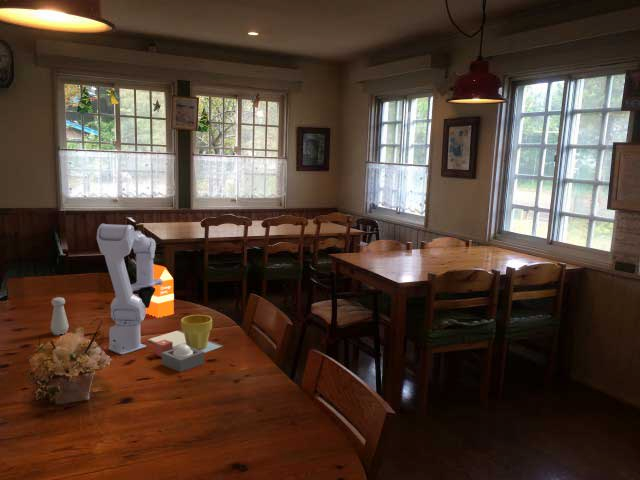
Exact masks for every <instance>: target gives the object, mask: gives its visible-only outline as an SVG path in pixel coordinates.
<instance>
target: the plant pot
mask: <svg viewBox="0 0 640 480" xmlns="http://www.w3.org/2000/svg"><path fill="white" fill-rule="evenodd" d="M180 328H181V331H182V332H184V336H185V340H186V344H187V345H188V346H190V347H192V348H195V349H198V350H200V349H203V348H206V347H207V344H208V341H209V337H210V332H211V330H212V328H213V318H212V317H211V316H210V315H205V314H191V315H187V316H184V317H182V318H181V319H180Z"/></svg>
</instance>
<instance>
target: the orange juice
mask: <svg viewBox="0 0 640 480" xmlns="http://www.w3.org/2000/svg"><path fill="white" fill-rule="evenodd" d="M153 275H154V279H163V284H162V285H156V286H153V287H154V288H155V292H154V294H153V296H152V298H151V301H150V305H149V308H146V314H145V315H148V314H149V315H148V316H151V315H152V317H154V316H155V317H154V318H157V319H159V317H160V318H163V316H164V317H167V316H171V315H174V314H175V311H174V310H175V308H174V305H175V303H174V300H175V294H174V278H173V276H172V275H171V273H170V272H169V271H168V269H167V268H166V267H165V266H163V265H158V264H155V263H153Z"/></svg>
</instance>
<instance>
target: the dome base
mask: <svg viewBox="0 0 640 480" xmlns="http://www.w3.org/2000/svg"><path fill="white" fill-rule="evenodd" d="M189 347H190V346H189ZM190 349H191V350H192V351H193V354H192V355H189V356H186V357H183V358H180V357H177V356H175V355H173V352H174V351H175V350H176V348H174V349H171V350H168V351H165V352H162V357H161V365H162V366H165V367H167V368H170V369H172V370H174V371H176V372H179V373H182V372H185V371H188V370H190V369H193V368H196V367H198V366H202V365H205V353H204V352H203V351H201V350H198V349H195V348H192V347H190Z"/></svg>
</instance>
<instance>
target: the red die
mask: <svg viewBox="0 0 640 480" xmlns="http://www.w3.org/2000/svg"><path fill="white" fill-rule="evenodd" d="M171 349H173V342H170V341H168V340H162V341H158V342H155V343H154V355H156V356H158V357H160V358H162V352H165V351H168V350H171Z"/></svg>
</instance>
